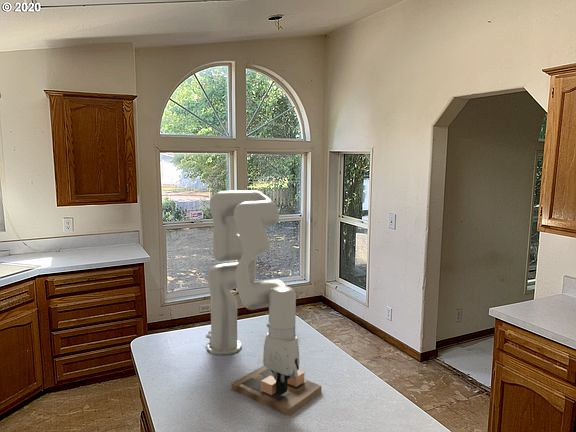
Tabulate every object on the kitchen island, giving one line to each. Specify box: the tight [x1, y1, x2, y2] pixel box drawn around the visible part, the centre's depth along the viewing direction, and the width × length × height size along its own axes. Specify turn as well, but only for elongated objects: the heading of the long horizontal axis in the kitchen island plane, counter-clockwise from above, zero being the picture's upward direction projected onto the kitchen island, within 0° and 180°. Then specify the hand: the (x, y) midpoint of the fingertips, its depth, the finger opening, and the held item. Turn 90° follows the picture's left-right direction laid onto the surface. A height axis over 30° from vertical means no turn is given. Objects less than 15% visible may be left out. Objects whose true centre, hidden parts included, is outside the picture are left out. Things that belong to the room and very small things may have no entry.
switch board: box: [230, 365, 322, 417], centre depth 130 cm, size 22×16×2 cm
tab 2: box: [288, 369, 305, 387], centre depth 130 cm, size 4×4×3 cm
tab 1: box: [261, 376, 276, 395], centre depth 126 cm, size 4×4×3 cm
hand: (281, 392), depth 124 cm, fingers closed
